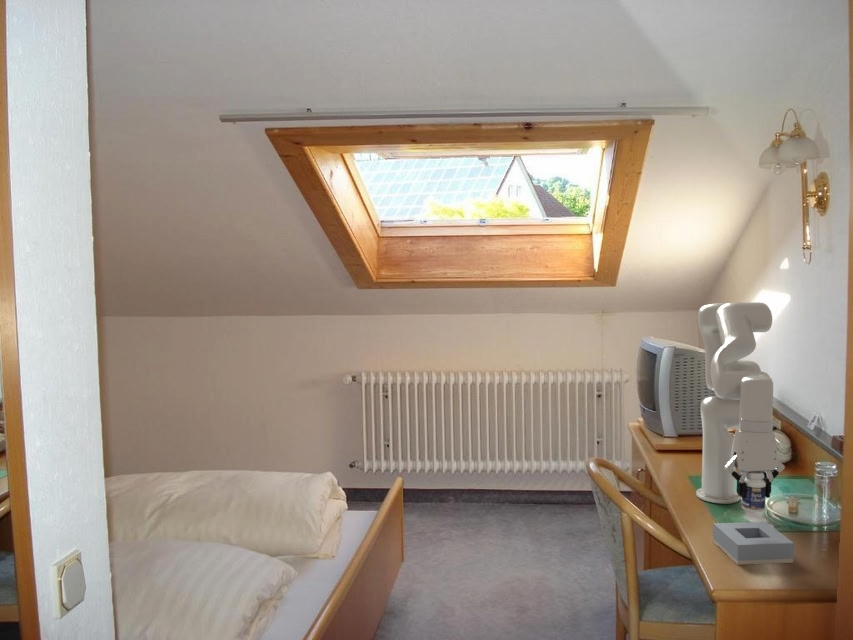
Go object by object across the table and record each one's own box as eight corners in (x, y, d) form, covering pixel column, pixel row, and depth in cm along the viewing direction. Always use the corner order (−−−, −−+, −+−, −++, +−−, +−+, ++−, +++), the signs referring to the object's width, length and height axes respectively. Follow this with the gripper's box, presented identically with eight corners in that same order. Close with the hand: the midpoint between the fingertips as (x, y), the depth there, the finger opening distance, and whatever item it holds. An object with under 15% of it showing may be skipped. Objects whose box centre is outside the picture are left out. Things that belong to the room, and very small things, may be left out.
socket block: (712, 541, 196) (713, 523, 195) (764, 540, 197) (765, 521, 196) (737, 564, 182) (737, 545, 181) (793, 562, 183) (793, 543, 182)
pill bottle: (751, 513, 184) (752, 475, 184) (737, 506, 190) (738, 469, 189) (769, 511, 186) (771, 473, 185) (755, 504, 191) (756, 467, 190)
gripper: (781, 421, 190) (779, 490, 192) (715, 423, 189) (713, 492, 191) (797, 428, 182) (794, 500, 184) (728, 430, 182) (726, 502, 183)
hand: (753, 495), depth 187 cm, fingers closed on pill bottle, 5 cm apart
